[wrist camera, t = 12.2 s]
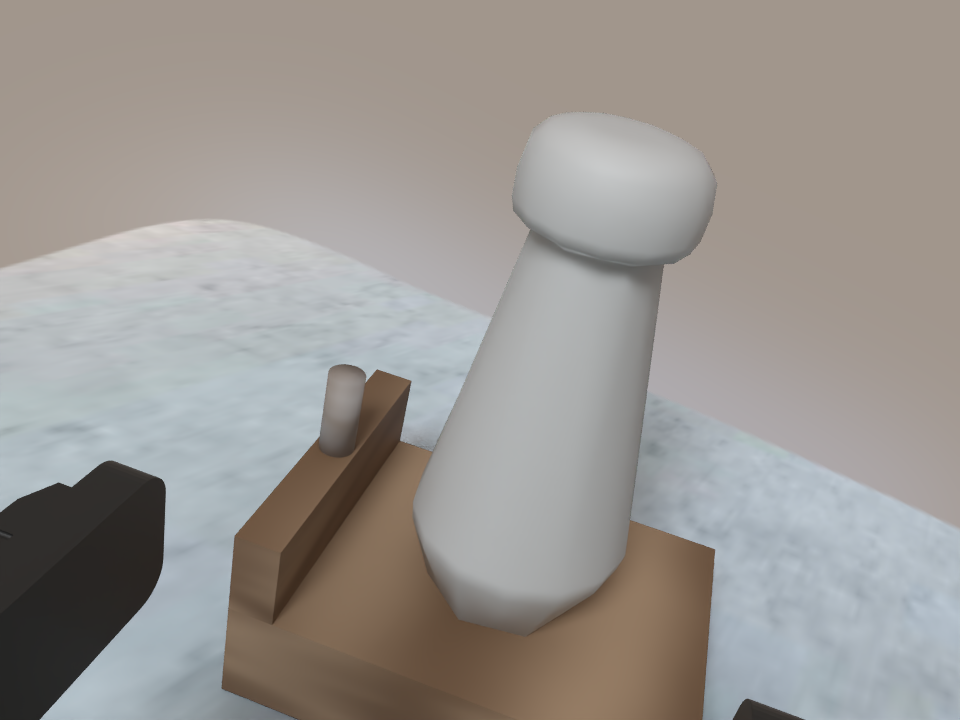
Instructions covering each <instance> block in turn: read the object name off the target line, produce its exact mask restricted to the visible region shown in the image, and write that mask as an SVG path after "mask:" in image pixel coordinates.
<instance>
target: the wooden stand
mask: <svg viewBox="0 0 960 720" xmlns="http://www.w3.org/2000/svg"><path fill="white" fill-rule="evenodd" d="M365 381H366V374H365V372H364V371H363V370H362V369H360V368H358V367H356V366H352V365H346V364H342V365H336V366H333V367H332V368H330V370H329V373H328V380H327V387H326V394H325V401H324V409H323V416H322V423H321V430H320V437H319V438H318V439H317V440H316V441H315V443H314V444H313V445H312V446H311V447H310V449H309V450H308V451H307V452H306V453H305V454H304V456H303V457H302V458H301V459H300V460H299V461H298V463H297V464H296V465H295V466H294V467H293V468H292V470H291V471H290V472H289V473H288V474H287V475H286V477H285V478H284V479H283V480H282V481H281V482H280V484H279V485H278V486H277V487H276V488H275V489H274V491H273V492H272V493H271V494H270V495H269V496H268V498H267V499H266V500H265V501H264V502H263V503H262V505H261V506H260V507H259V508H258V509H257V511H256V512H255V513H254V514H253V515H252V516H251V518H250V519H249V520H248V521H247V522H246V523H245V525H244V526H243V527H242V528H241V529H240V530H239V532H238V533H237V534H236V535H235V538H234V550H233V561H232V573H231V585H230V596H229V608H228V620H227V631H226V643H225V655H224V666H223V678H222V689H224V690H227V691H229V692H232V693H234V694H237V695H239V696H242V697H244V698H247V699H249V700H252V701H254V702H256V703H259V704H261V705H264V706H266V707H269V708H271V709H274V710H276V711H279V712H281V713H284V714H286V715H289V716H291V717H294V718H296V719H299V720H702V717H703V703H704V690H705V676H706V663H707V650H708V636H709V623H710V609H711V596H712V583H713V569H714V556H715V549H712V548H709V547H706V546H704V545H701V544H698V543H695V542H692V541H689V540H686V539H683V538H680V537H677V536H675V535H672V534H669V533H666V532H663V531H660V530H657V529H654V528H651V527H648V526H645V525H643V524H640V523H637V522H634V521H631V520H630V523H629V531H628V538H627V546H626V553H625V557H624V558H623V560H622V561H621V563H620V564H619V566H618V567H617V569H616V570H615V571H614V572H613V573H612V574H611V576H610V577H609V578H608V579H607V580H606V581H605V582H604V583H603V584H602V585H601V586H600V588H599V589H598V590H597V591H596V592H595V593H594V594H593V595H591V596H590V597H588V598H586V599H585V600H583V601H582V602H580V603H578V604H577V605H575V606H574V607H572V608H571V609H569V610H568V611H566V612H564V613H563V614H561V615H560V616H558V617H556V618H555V619H553V620H551V621H550V622H548V623H547V624H545V625H543V626H542V627H540V628H539V629H537V630H535V631H534V632H532V633H531V634H529V635H527V636H526V637H524V636H520V635H516V634H512V633H508V632H505V631H501V630H497V629H493V628H489V627H485V626H481V625H478V624H474V623H470V622H466V621H462V620H458V618H457V617H456V615H455V614H454V612H453V610H452V609H451V607H450V606H449V604H448V603H447V601H446V600H445V598H444V597H443V595H442V594H441V592H440V591H439V589H438V588H437V586H436V585H435V583H434V582H433V580H432V579H431V577H430V576H429V574H428V573H427V569H426V566H425V562H424V558H423V554H422V551H421V547H420V543H419V540H418V536H417V532H416V529H415V525H414V521H413V518H412V515H413V500H414V497H415V494H416V491H417V488H418V485H419V483H420V480H421V477H422V474H423V471H424V469H425V467H426V465H427V463H428V461H429V458H430V456H431V454H432V452H431V451H428V450H425V449H422V448H419V447H416V446H413V445H410V444H407V443H405V442H402V441H400V437H401V432H402V427H403V422H404V417H405V411H406V406H407V401H408V396H409V391H410V386H411V381H410V380H407V379H404V378H401V377H398V376H395V375H392V374H389V373H386V372H383V371H380V370H376V371H375V372H374V374H373V375H372V376H371V377H370V378H369V379H368V381H367V382H366V383H365Z"/></svg>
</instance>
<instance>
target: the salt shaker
mask: <svg viewBox="0 0 960 720" xmlns="http://www.w3.org/2000/svg"><path fill="white" fill-rule="evenodd" d="M716 188H717V182H716V179H715V176H714V173H713V171H712V169H711V167H710V166H709V163H708V162H707V160H706V158H705V156H704V154H703V153H702V152H701V151H700V150H698V149H697V148H695V147H694V146H692V145H691V144H690V143H688V142H687V141H685V140H683V139H681V138H679V137H677V136H675V135H674V134H672V133H669V132H667V131H665V130H662V129H660V128H658V127H656V126H654V125H651V124H647V123H644V122H640V121H637V120H633V119H629V118H626V117H621V116H615V115H611V114H606V113H591V112H590V113H589V112H567V113H563V114H558V115H553V116H550V117H549V118H548V119H546V120H544V121H543V122H541V123H540V124H539V125H537V126H536V127H534V128H533V130H532V133H531V135H530V138H529V140H528V142H527V145H526V147H525V150H524V152H523V155H522V157H521V159H520V162H519V164H518V166H517V171H516V177H515V182H514V188H513V193H512V201H513V211H514V212H515V213H516V214H517V215H518V217H519V218H520V219H521V220H522V221H523V222H524V224H525V225H526V226H527V227H528V228H529V229H530V232H529V234H528V236H527V238H526V241H525V243H524V246H523V248H522V250H521V253H520V255H519V257H518V259H517V262H516V264H515V266H514V269H513V271H512V273H511V276H510V278H509V280H508V282H507V285H506V287H505V290H504V292H503V294H502V297H501V299H500V301H499V303H498V306H497V308H496V310H495V313H494V315H493V317H492V320H491V322H490V324H489V326H488V329H487V331H486V333H485V336H484V338H483V340H482V343H481V345H480V347H479V350H478V352H477V354H476V357H475V359H474V361H473V364H472V366H471V368H470V371H469V373H468V375H467V377H466V380H465V382H464V384H463V387H462V389H461V391H460V394H459V396H458V398H457V400H456V402H455V404H454V407H453V409H452V411H451V413H450V415H449V417H448V420H447V422H446V424H445V426H444V428H443V430H442V433H441V435H440V437H439V439H438V441H437V443H436V445H435V448H434V450H433V452H432V454H431V456H430V458H429V461H428V463H427V465H426V467H425V469H424V471H423V474H422V477H421V480H420V483H419V485H418V488H417V491H416V494H415V497H414V500H413V515H412V518H413V521H414V525H415V529H416V532H417V536H418V540H419V543H420V547H421V551H422V554H423V558H424V562H425V566H426V569H427V573H428V574H429V576H430V577H431V579H432V580H433V582H434V583H435V585H436V586H437V588H438V589H439V591H440V592H441V594H442V595H443V597H444V598H445V600H446V601H447V603H448V604H449V606H450V607H451V609H452V610H453V612H454V614H455V615H456V617H457V618H458V620H462V621H466V622H470V623H474V624H478V625H481V626H485V627H489V628H493V629H497V630H501V631H505V632H508V633H512V634H516V635H520V636H524V637H526V636H527V635H529V634H531V633H532V632H534V631H535V630H537V629H539V628H540V627H542V626H543V625H545V624H547V623H548V622H550V621H551V620H553V619H555V618H556V617H558V616H560V615H561V614H563V613H564V612H566V611H568V610H569V609H571V608H572V607H574V606H575V605H577V604H578V603H580V602H582V601H583V600H585V599H586V598H588V597H590V596H591V595H593V594H594V593H595V592H596V591H597V590H598V589H599V588H600V586H601V585H602V584H603V583H604V582H605V581H606V580H607V579H608V578H609V577H610V576H611V574H612V573H613V572H614V571H615V570H616V569H617V567H618V566H619V564H620V563H621V561H622V560H623V558H624V557H625V553H626V546H627V538H628V531H629V523H630V516H631V508H632V501H633V493H634V486H635V478H636V471H637V463H638V456H639V448H640V440H641V433H642V425H643V418H644V410H645V403H646V395H647V387H648V380H649V372H650V365H651V357H652V350H653V342H654V335H655V327H656V319H657V313H658V305H659V297H660V290H661V283H662V274H663V268H664V264H674V263H676V262H678V261H679V260H681V259H683V258H684V257H686V256H688V255H690V254H691V252H692V251H693V250H694V249H695V248H696V246H697V245H698V244H699V243H700V241H701V239H702V237H703V234H704V232H705V230H706V227H707V225H708V223H709V221H710V218H711V216H712V212H713V206H714V200H715V193H716Z"/></svg>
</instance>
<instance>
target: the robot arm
mask: <svg viewBox="0 0 960 720" xmlns="http://www.w3.org/2000/svg"><path fill="white" fill-rule="evenodd" d="M165 498H166V488H165V484H164V482H163V480H162V479H160V478H158V477H155V476H153V475H150V474H147V473H144V472H142V471H139V470H136V469H134V468H131V467H128V466H126V465H123V464H120V463H117V462H115V461H106V462H104V463H102V464H100V465H99V466H97V467H96V468H95V469H94V470H92V471H91V472H90V473H89V474H88V475H86V476H85V477H84V478H83V479H81V480H80V481H79V482H78V483H77V484H75V485H74V486H73V487H69V486H67V485H64V484H61V483H57V484H54V485H52V486H49V487H47V488H44V489H42V490H39V491H37V492H34V493H32V494H29V495H27V496H24V497H22V498H19V499H17V500H16V501H15V502H13V503H12V504H11V505H9V506H8V507H7V508H5V509H4V510H3V511H2V512H0V720H40V719H41V718H42V716H43V715H44V714H45V713H46V712H47V711H48V710H49V709H50V708H51V707H52V705H53V704H54V703H55V702H56V701H57V700H58V699H59V698H60V697H61V695H62V694H63V693H64V692H65V691H66V690H67V689H68V688H69V687H70V686H71V684H72V683H73V682H74V681H75V680H76V679H77V678H78V677H79V676H80V675H81V673H82V672H83V671H84V670H85V669H86V668H87V667H88V666H89V665H90V664H91V662H92V661H93V660H94V659H95V658H96V657H97V656H98V655H99V654H100V653H101V651H102V650H103V649H104V648H105V647H106V646H107V645H108V644H109V643H110V642H111V640H112V639H113V638H114V637H115V636H116V635H117V634H118V633H119V632H120V631H121V629H122V628H123V627H124V626H125V625H126V624H127V623H128V622H129V621H130V620H131V618H132V617H133V616H134V615H135V614H136V613H137V612H138V611H139V610H140V609H141V607H142V606H143V605H144V604H145V603H146V601H147V600H148V598H149V597H150V595H151V593H152V592H153V590H154V588H155V586H156V584H157V581H158V579H159V576H160V573H161V570H162V565H163V552H164V525H165ZM733 720H804V719H801V718H799V717H796V716H793V715H791V714H788V713H785V712H783V711H780V710H777V709H774V708H772V707H769V706H766V705H764V704H761V703H758V702H756V701H753V700H750V699H745V700H744V701H743V702H742V704H741V705H740V707H739V709H738V711H737V713H736V714H735V716H734V718H733Z"/></svg>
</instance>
